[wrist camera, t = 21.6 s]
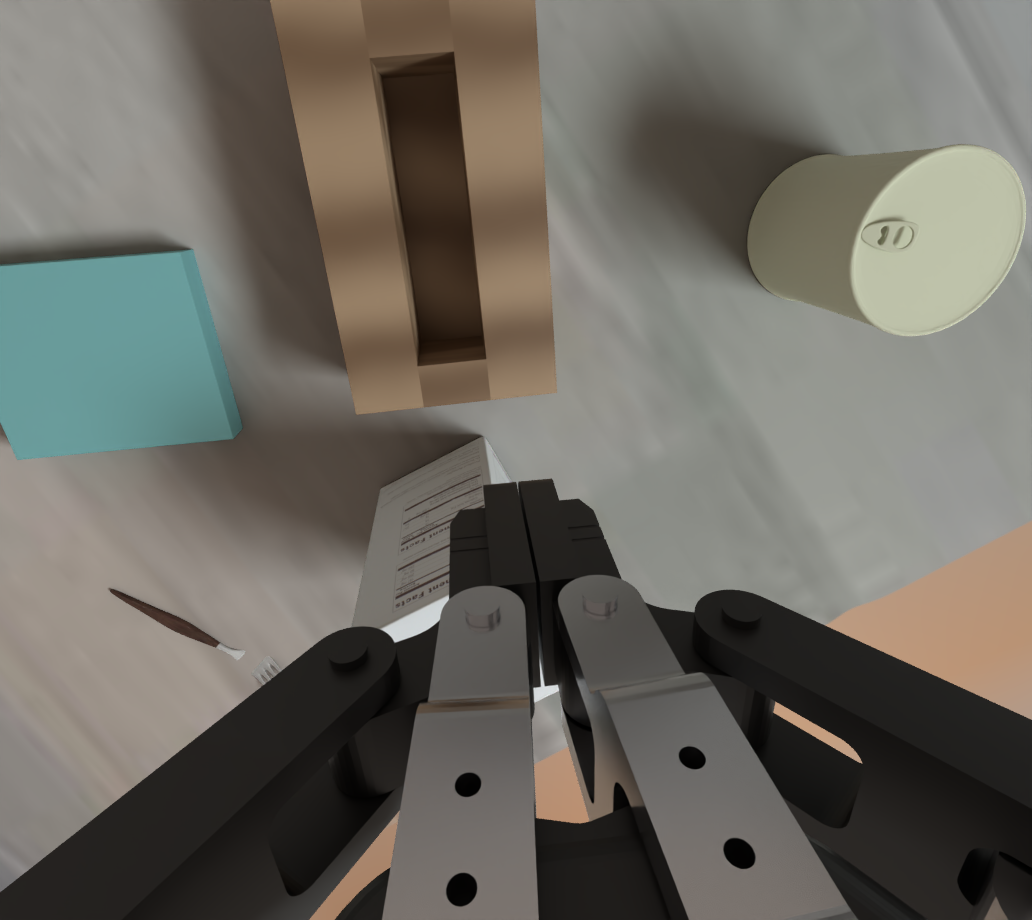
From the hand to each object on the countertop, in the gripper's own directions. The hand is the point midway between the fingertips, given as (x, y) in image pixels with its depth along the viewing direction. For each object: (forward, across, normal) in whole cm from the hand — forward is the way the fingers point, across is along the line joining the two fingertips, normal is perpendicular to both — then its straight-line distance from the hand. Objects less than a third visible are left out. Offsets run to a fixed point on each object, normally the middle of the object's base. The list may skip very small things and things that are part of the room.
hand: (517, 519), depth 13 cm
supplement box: (+30, +2, +17) cm, 34 cm away
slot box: (+30, +2, -4) cm, 30 cm away
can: (+30, -23, -2) cm, 38 cm away
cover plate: (+29, +17, +2) cm, 34 cm away
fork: (+30, +24, +26) cm, 47 cm away
